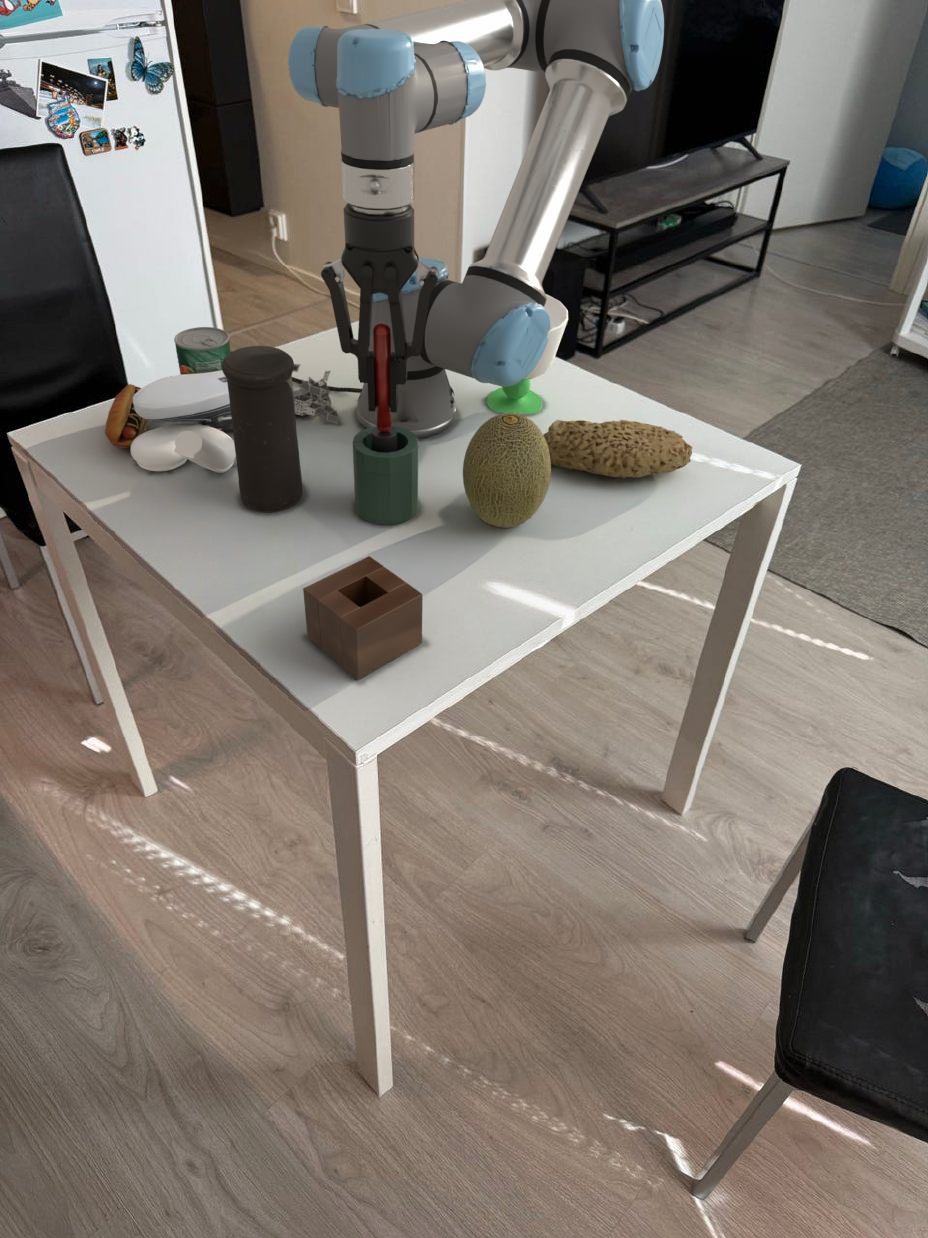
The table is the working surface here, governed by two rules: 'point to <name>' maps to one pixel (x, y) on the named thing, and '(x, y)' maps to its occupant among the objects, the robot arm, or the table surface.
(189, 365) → the canned tomato
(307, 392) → the house of cards
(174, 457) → the sculpture
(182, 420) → the boat shoe
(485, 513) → the fruit
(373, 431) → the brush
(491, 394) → the cup
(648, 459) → the sponge
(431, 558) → the table surface
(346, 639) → the holder
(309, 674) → the table surface
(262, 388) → the container
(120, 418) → the hot dog
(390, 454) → the green hollow cylinder
